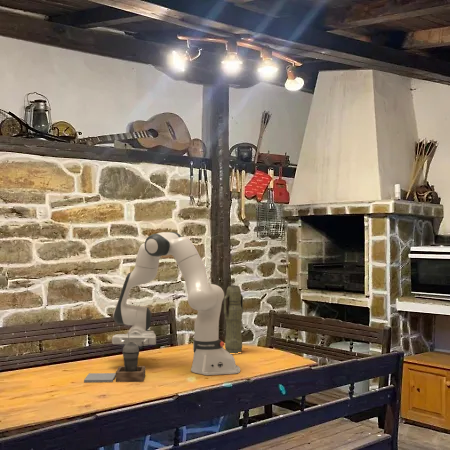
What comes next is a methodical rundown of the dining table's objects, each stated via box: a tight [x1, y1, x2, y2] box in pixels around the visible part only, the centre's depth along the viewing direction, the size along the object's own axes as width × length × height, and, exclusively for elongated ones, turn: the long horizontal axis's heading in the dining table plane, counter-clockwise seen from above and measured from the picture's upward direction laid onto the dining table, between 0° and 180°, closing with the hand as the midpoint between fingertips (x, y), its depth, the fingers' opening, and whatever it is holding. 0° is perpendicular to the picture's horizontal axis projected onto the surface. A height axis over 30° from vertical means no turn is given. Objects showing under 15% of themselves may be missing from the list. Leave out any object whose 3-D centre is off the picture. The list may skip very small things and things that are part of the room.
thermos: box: [223, 285, 244, 353], centre depth 319 cm, size 9×12×35 cm
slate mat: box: [83, 372, 116, 383], centre depth 263 cm, size 12×12×1 cm
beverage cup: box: [122, 331, 140, 372], centre depth 264 cm, size 7×7×20 cm
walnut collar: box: [115, 365, 146, 383], centre depth 263 cm, size 12×12×4 cm
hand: (132, 342), depth 276 cm, fingers open, 8 cm apart
